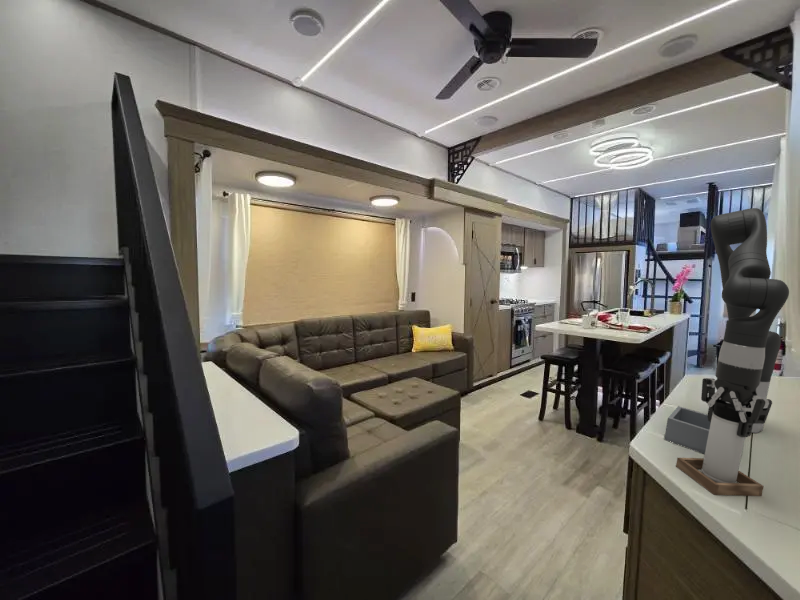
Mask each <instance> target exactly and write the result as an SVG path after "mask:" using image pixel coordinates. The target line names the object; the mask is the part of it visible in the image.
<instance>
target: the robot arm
mask: <svg viewBox="0 0 800 600" xmlns="http://www.w3.org/2000/svg"><path fill="white" fill-rule="evenodd" d="M767 227H768V226H767V221H766V216H765V214H764V212H763V210H761V209H760V208H758V207H754V208H746V209H741V210H735V211H731V212H726V213H723V214H719V215H715V216H714V217H712V219H711V221H710V232H711V236H712V241H713V244H714V248H715V252H716V255H717V260H718V264H719V270H720V278H721V286H722V291H721V298H722V301H723V302H724V303H725V306H726V311H727V318H728V320H727V322H726V323H725V324H726V325H725V330H724V334H723V335H724V336H723V341H722V344H721V347H720V349H719V352H718V353H719V355H718V360H717V365H716V370H715V375H714V376H715V378H716V379H715V378H712V377H711V378H705V377H703V378H702V384H701V397H700V399H701V401H702V402H705V403H706V404H707V406H708V410H707V417H708V421H710V422H711V419H712V415H713V410H714V405H715V401H717V402H726V403H730V404H732V405H734V406H735V409H736V411H738V412H739V416H740V419H741V421H739V426H738V431H737V435H738V436H740V437H745V438H749V437H750V436H751V434H752V433H754V434H755V433H756V434H757V433H760V431H761V432H762V431H763V430H764V426H765V424H766V422H767V418H768V416H769V413H770V410H771V408H772V405H773V401H772V399H770V398H768V394H769V389H770V384H771V380H772V375H773V373H774V370H775V365H776V363H777V362H776V361H777V359H778V355H779V351H780V349H781V344H782V341H781V339H782V338H781V335H780V334H779V333H778V332H776V331H770V330H771V327H772V325H773V323H774V320H775V319H776V318H777V316H778V314H779V313H780V311H782V308H783V307H784V305H785V304H786V303H787V300H788V298H789V295H790V290H789V285H787V284H786V282H784V281H783V280H781V279H777V278H776V279H775V278H770V277H771V274H772V271H771V266H770V263H769V260H768V255H767V248H768V228H767ZM738 244H739V245H738ZM731 245H738V246H737V247H736V248H735V249H734V250H733V249H732V247H731ZM757 310H759V311H757ZM756 311H757V313H755V312H756ZM754 313H755V314H754ZM753 314H754V315H753ZM751 315H752V316H751ZM746 412H748V415H746Z"/></svg>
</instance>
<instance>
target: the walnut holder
mask: <svg viewBox="0 0 800 600" xmlns="http://www.w3.org/2000/svg"><path fill="white" fill-rule="evenodd" d="M703 461H704V457H703V458H701V457H698V458H697V457H677V458H676V463H675V464H676V465H675V468H677V469H679V470H680V471H681V472H683V473H684V474H685V475H687V476H688V477H690V478H691V479H692V480H693V481H695V482H696V483H698V484H699V485H700V486H702V488H705V490H707V491H708V492H710V493H711V494H712V495H714V496H744V497H745V496H749V497H752V496H753V497H762V496H763V493H764V488H765V487H764V485H763V484H761V483H759V482H758V481H757V480H754V479H753V478H751V477H750V476H749V475H746V474H745V473H743V472H742V471H740V470H738V475H737V480H736V483H716V482H714V481H713V480H711V479H710V478H709V477H707V476H706V475H704V474H703V473H701V471H700V470H702V466H703Z"/></svg>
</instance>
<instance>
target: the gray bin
mask: <svg viewBox="0 0 800 600" xmlns="http://www.w3.org/2000/svg"><path fill="white" fill-rule="evenodd" d="M707 415H708V413H707V414H706V413H704V412H700V411H696V410H694V409H693V410H692V409H690V408H686V407H684V406H683V407H682V406H680V405H678V406H677V407H676V408H675V409H674V410H673V411H672V412H671V414H670V415H669V416H668V417H667V421H666V427H665V434H664V438H663V440H664V441H667V442H669V441H671V442H670V443H672V442H673V444H675V443H676V444H675V445H678V444H679V446H680V445H682V446H681V447H683V446H685V447H684V448H686V447H688V448H687V449H689V448H690V449H689V450H693V451H694V450H695V452H697V453H699V454H700V453H701V454H703V455H705V450H706V445H707V440H708V435H709V429H710V424H711V422H710V421H708V417H707Z"/></svg>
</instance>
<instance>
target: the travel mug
mask: <svg viewBox="0 0 800 600" xmlns="http://www.w3.org/2000/svg"><path fill="white" fill-rule="evenodd" d="M746 415H748V412H746ZM739 421H741V419H740V416H739V412H738V411H736V409H735V406H734V405H732V404H730V403H726V402H717V401H715V405H714V410H713V415H712V419H711V424H710V429H709V435H708V440H707V445H706V450H705V454H704V456H703V458H704V461H703V466H702V469H701V471H700V472H701V473H703V474H704V475H706V476H707V477H709V478H710V479H711V480H713V481H714V482H716V483H737V481H736V480H737V475H738V470H739V469H740V466H741V460H742V456H743V450H744V445H745V441H746V437H740V436H738V435H737V431H738V426H739ZM739 471H740V470H739Z"/></svg>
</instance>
